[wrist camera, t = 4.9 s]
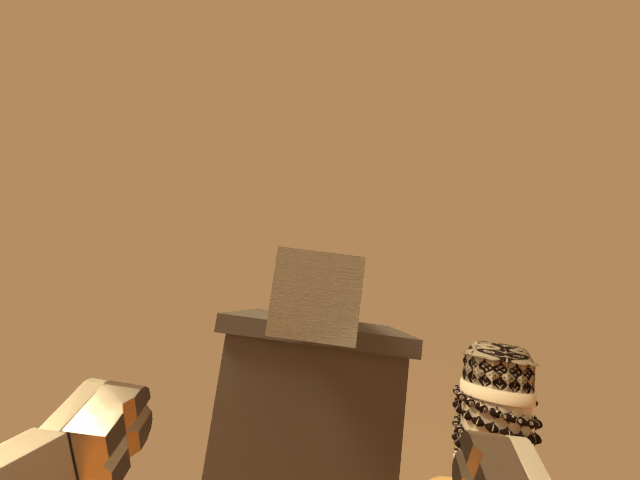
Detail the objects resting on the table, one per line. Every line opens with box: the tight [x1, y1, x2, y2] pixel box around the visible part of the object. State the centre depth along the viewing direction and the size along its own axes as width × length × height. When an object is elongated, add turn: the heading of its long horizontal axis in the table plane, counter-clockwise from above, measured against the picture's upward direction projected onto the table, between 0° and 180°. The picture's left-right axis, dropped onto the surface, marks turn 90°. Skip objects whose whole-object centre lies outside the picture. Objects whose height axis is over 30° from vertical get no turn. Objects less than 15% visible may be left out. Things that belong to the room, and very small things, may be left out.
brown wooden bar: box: [265, 246, 365, 348], centre depth 22 cm, size 20×3×4 cm, turn 178°
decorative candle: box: [452, 341, 542, 458], centre depth 41 cm, size 9×9×25 cm
